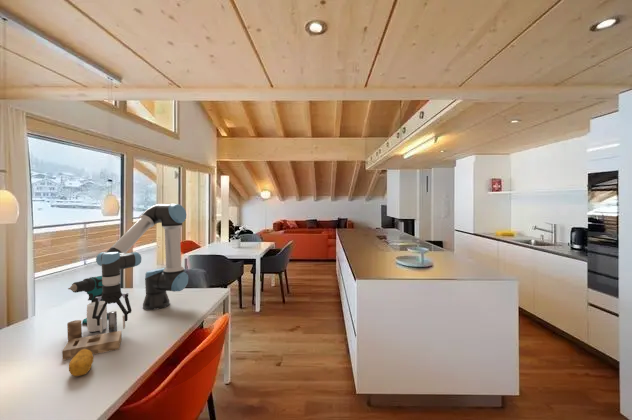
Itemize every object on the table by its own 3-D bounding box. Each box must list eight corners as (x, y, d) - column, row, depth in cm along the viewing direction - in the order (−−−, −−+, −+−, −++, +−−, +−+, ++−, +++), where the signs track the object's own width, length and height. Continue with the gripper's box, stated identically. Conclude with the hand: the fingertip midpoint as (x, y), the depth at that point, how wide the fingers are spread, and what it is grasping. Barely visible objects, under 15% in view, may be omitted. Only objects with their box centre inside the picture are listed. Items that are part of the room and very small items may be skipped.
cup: (111, 328, 160) (110, 301, 160) (95, 335, 152) (94, 307, 152) (99, 326, 163) (98, 300, 163) (83, 333, 155) (82, 305, 155)
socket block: (121, 338, 148) (121, 330, 148) (119, 349, 138) (118, 340, 138) (69, 348, 139) (69, 339, 139) (62, 360, 128) (62, 350, 128)
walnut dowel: (83, 339, 147) (82, 319, 147) (80, 344, 143) (80, 323, 143) (69, 342, 145) (68, 321, 145) (66, 346, 140) (65, 325, 140)
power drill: (77, 332, 156) (75, 283, 155) (62, 331, 157) (61, 283, 157) (119, 314, 181) (118, 272, 180) (106, 313, 183) (105, 271, 182)
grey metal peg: (117, 334, 153) (116, 310, 153) (116, 337, 150) (116, 312, 150) (109, 335, 152) (108, 311, 151) (108, 338, 149) (107, 314, 148)
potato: (64, 384, 111) (63, 365, 111) (75, 365, 124) (74, 348, 124) (88, 379, 114) (87, 361, 114) (96, 361, 127) (96, 344, 127)
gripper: (137, 279, 158) (138, 322, 159) (86, 285, 148) (87, 331, 149) (136, 282, 152) (137, 328, 152) (82, 289, 142) (84, 337, 142)
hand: (112, 329), depth 151 cm, fingers open, 9 cm apart
